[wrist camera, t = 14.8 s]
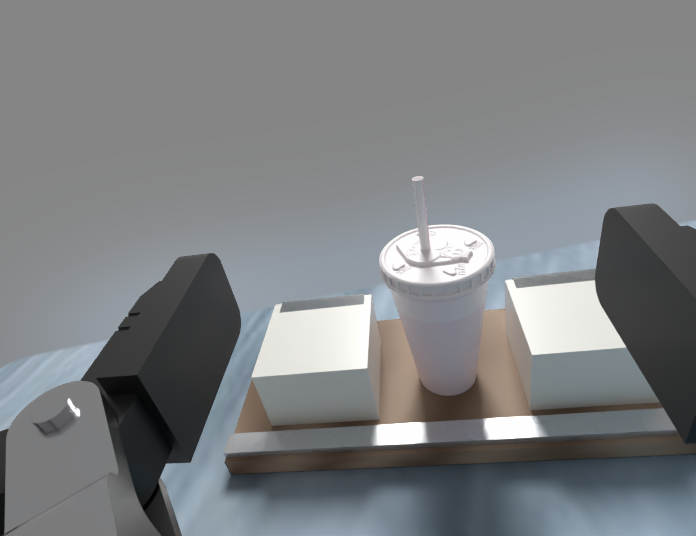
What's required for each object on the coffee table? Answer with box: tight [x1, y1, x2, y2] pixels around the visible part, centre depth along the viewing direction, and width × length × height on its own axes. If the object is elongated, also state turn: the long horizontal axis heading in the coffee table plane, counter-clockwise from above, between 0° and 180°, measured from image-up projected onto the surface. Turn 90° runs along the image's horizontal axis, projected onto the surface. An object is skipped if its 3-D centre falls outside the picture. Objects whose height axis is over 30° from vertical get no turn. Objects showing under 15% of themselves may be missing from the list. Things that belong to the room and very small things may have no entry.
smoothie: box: [379, 176, 496, 396], centre depth 27 cm, size 6×6×14 cm
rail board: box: [223, 269, 696, 474], centre depth 30 cm, size 28×12×6 cm, turn 86°
